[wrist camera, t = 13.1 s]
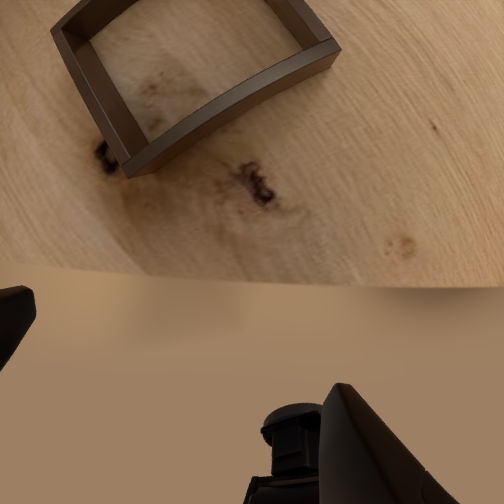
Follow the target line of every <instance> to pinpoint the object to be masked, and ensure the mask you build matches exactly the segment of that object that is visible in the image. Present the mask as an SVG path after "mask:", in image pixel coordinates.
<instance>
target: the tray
mask: <svg viewBox="0 0 504 504" xmlns="http://www.w3.org/2000/svg"><path fill="white" fill-rule="evenodd" d="M136 1H138V0H81V1H80V2H79V3H77V4H76V5H75V6H74V7H73V8H72V9H71V10H70V11H69V12H68V13H67V14H66V15H64V16H63V17H62V18H61V19H60V20H59V21H58V22H57V23H56V24H55V25H54V26H53V27H52V28H51V30H50V32H51V35H52V36H53V39H54V42H55V44H56V46H57V48H58V50H59V52H60V54H61V56H62V59H63V61H64V63H65V65H66V67H67V69H68V71H69V73H70V75H71V77H72V79H73V81H74V83H75V85H76V87H77V89H78V91H79V93H80V94H81V96H82V98H83V100H84V102H85V104H86V106H87V108H88V110H89V111H90V113H91V115H92V117H93V119H94V121H95V122H96V124H97V126H98V128H99V130H100V132H101V133H102V135H103V137H104V139H105V140H106V142H107V144H108V146H109V147H110V149H111V151H112V153H113V154H114V156H115V158H116V159H117V161H118V163H119V165H120V166H122V167H121V168H122V170H123V171H124V173H125V175H126V176H127V178H128V179H129V178H133V177H137V176H142V175H146V174H150V173H154V172H155V171H157V170H158V169H159V168H161V167H162V166H164V165H165V164H166V163H168V162H169V161H171V160H172V159H173V158H175V157H176V156H178V155H179V154H180V153H182V152H183V151H185V150H186V149H188V148H189V147H191V146H192V145H194V144H195V143H197V142H198V141H200V140H201V139H203V138H204V137H206V136H207V135H209V134H210V133H212V132H213V131H215V130H217V129H218V128H220V127H221V126H223V125H225V124H226V123H228V122H229V121H231V120H233V119H234V118H236V117H238V116H239V115H241V114H243V113H244V112H246V111H248V110H250V109H251V108H253V107H255V106H256V105H258V104H260V103H262V102H264V101H265V100H267V99H269V98H271V97H273V96H274V95H276V94H278V93H280V92H282V91H284V90H286V89H288V88H289V87H291V86H293V85H295V84H297V83H299V82H301V81H303V80H305V79H307V78H309V77H311V76H313V75H315V74H317V73H320V72H322V71H324V70H326V69H328V68H330V67H331V65H332V64H333V62H334V61H335V59H336V58H337V56H338V55H339V53H340V52H341V50H342V49H341V48H340V46H339V45H338V43H337V42H336V41H335V39H334V38H333V36H332V35H331V34H330V32H329V31H328V30H327V28H326V27H325V26H324V24H323V23H322V22H321V21H320V19H319V18H318V17H317V16H316V14H315V13H314V12H313V11H312V9H311V8H310V7H309V6H308V5H307V3H306V2H305V1H304V0H265V1H266V2H267V3H268V5H269V6H270V7H271V8H272V9H273V11H274V12H275V13H276V14H277V15H278V17H279V18H280V19H281V20H282V22H283V23H284V24H285V25H286V27H287V28H288V29H289V31H290V32H291V33H292V34H293V36H294V37H295V38H296V40H297V41H298V42H299V44H300V45H301V47H302V48H303V49H304V50H303V51H301V52H299V53H297V54H295V55H293V56H291V57H289V58H287V59H285V60H283V61H281V62H279V63H277V64H275V65H273V66H271V67H269V68H267V69H265V70H263V71H262V72H260V73H258V74H256V75H254V76H252V77H251V78H249V79H247V80H245V81H244V82H242V83H240V84H238V85H237V86H235V87H233V88H232V89H230V90H228V91H227V92H225V93H223V94H222V95H220V96H218V97H217V98H215V99H214V100H212V101H211V102H209V103H207V104H206V105H204V106H203V107H201V108H200V109H198V110H197V111H195V112H194V113H192V114H191V115H189V116H188V117H186V118H185V119H183V120H182V121H181V122H179V123H178V124H176V125H175V126H173V127H172V128H171V129H169V130H168V131H166V132H165V133H164V134H162V135H161V136H160V137H158V138H157V139H156V140H154V141H153V142H152V143H150V144H149V143H148V141H147V140H146V138H145V136H144V135H143V133H142V131H141V130H140V128H139V126H138V125H137V123H136V121H135V120H134V118H133V116H132V115H131V113H130V111H129V110H128V108H127V106H126V105H125V103H124V101H123V100H122V98H121V96H120V94H119V93H118V91H117V89H116V88H115V86H114V84H113V83H112V81H111V79H110V77H109V76H108V74H107V72H106V70H105V69H104V67H103V65H102V63H101V62H100V60H99V58H98V56H97V55H96V53H95V51H94V49H93V48H92V46H91V44H90V42H89V41H88V40H89V39H90V38H91V37H92V36H94V35H95V34H96V33H97V32H98V31H99V30H100V29H102V28H103V27H104V26H105V25H106V24H108V23H109V22H110V21H111V20H112V19H114V18H115V17H116V16H118V15H119V14H120V13H121V12H123V11H124V10H125V9H127V8H128V7H129V6H131V5H132V4H133V3H135V2H136Z"/></svg>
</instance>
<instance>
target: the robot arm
mask: <svg viewBox="0 0 504 504" xmlns="http://www.w3.org/2000/svg"><path fill="white" fill-rule="evenodd" d="M35 318H36V306H35V299H34V293H33V291H32V290H31V289H30V288H28V287H25V286H23V285H21V286H15V287H10V288H5V289H0V371H1V370H2V369H3V367H4V366H5V365H6V363H7V362H8V360H9V359H10V357H11V356H12V355H13V353H14V352H15V350H16V349H17V347H18V345H19V344H20V342H21V340H22V339H23V337H24V335H25V334H26V332H27V331H28V329H29V327H30V326H31V324H32V323H33V321H34V320H35ZM260 433H261V434H262V435H263V436H264V437H265V438H266V439H267V440H268V441H269V442H270V443H271V444H272V469H271V474H272V476H267V477H258V476H253V477H252V479H251V482H250V484H249V487H248V490H247V493H246V496H245V500H244V503H243V504H460V503H459V502H457V501H456V500H455V499H454V498H453V497H452V496H451V495H450V494H449V493H448V492H447V491H446V490H445V489H444V488H443V487H442V486H441V485H440V484H439V483H438V482H437V481H436V480H435V479H434V478H433V477H432V475H431V474H430V473H429V472H428V471H425V468H424V467H423V466H422V465H421V463H420V462H419V461H418V460H417V459H416V458H415V457H414V456H413V454H412V453H410V451H409V450H408V449H407V448H406V447H405V446H404V444H403V443H402V442H401V441H400V440H399V439H398V438H397V437H396V435H395V434H394V433H393V432H392V431H391V430H390V429H389V428H388V426H387V425H386V424H385V423H384V422H383V421H382V420H381V418H380V417H379V416H378V415H377V414H376V413H375V412H374V411H373V409H372V408H371V407H370V406H369V405H368V404H367V403H366V401H365V400H364V399H363V398H362V397H361V396H360V395H359V393H358V392H357V391H356V390H355V389H354V388H353V387H352V386H351V385H350V384H344V383H336V384H335V385H334V386H333V387H332V389H331V391H330V393H329V394H328V396H327V398H326V400H325V401H324V403H323V406H322V413H320V412H319V411H318V410H314V411H311V412H308V413H305V414H302V415H299V416H296V417H293V418H290V419H287V420H284V421H281V422H278V423H275V424H271V425H268V426H264V427H262V428H261V429H260Z"/></svg>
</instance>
